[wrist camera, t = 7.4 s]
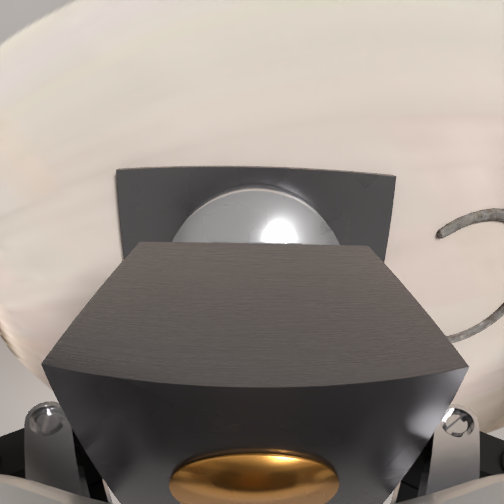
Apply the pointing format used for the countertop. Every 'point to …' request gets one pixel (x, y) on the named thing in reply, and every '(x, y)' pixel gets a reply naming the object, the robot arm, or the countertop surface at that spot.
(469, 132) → the countertop surface
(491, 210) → the pliers
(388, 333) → the socket
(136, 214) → the lever switch plate
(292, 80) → the countertop surface
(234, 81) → the countertop surface
